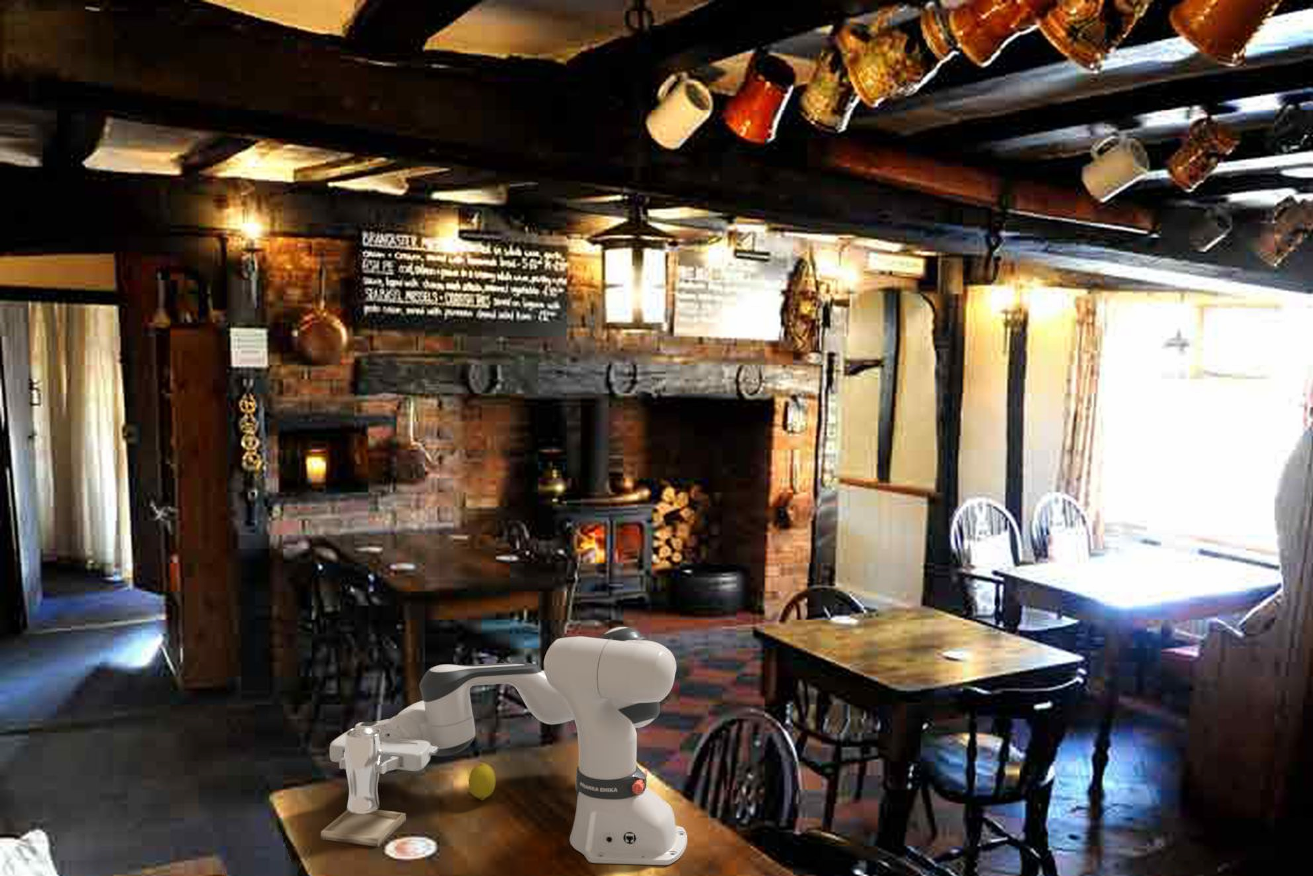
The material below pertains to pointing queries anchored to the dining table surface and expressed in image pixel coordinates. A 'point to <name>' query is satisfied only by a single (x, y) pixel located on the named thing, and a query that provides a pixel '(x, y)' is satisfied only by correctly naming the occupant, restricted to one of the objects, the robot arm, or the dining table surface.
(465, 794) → the dining table surface
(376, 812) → the tray
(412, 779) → the dining table surface
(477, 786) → the lemon
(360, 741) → the beer glass
